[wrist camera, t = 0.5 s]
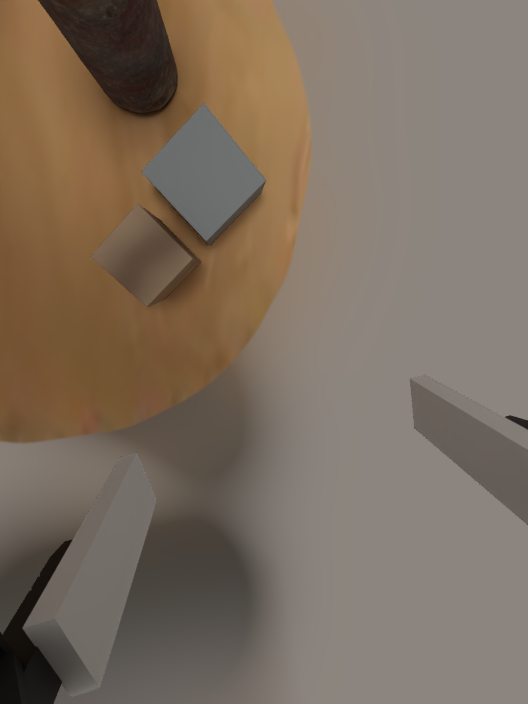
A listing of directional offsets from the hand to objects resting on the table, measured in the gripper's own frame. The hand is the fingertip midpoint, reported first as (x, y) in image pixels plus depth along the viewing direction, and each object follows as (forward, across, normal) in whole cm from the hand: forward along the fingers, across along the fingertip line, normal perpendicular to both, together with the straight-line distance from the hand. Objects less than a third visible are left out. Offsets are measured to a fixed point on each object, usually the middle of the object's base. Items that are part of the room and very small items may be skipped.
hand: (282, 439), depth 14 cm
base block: (+24, 0, +16) cm, 29 cm away
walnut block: (+24, -7, +10) cm, 27 cm away
